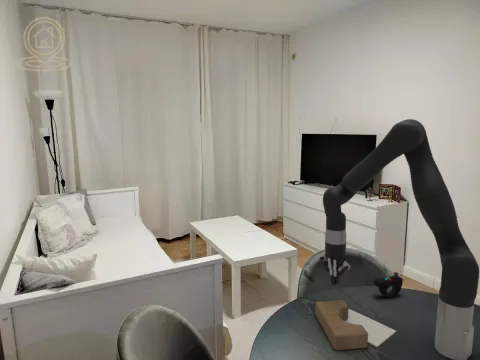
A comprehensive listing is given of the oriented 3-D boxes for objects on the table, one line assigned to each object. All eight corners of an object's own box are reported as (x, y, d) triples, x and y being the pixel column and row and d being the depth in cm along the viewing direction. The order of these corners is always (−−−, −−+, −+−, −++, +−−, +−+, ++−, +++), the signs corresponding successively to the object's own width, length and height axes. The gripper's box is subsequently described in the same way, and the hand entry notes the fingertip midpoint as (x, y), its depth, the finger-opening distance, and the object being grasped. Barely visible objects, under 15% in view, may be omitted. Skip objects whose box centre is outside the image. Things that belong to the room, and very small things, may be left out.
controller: (404, 297, 140) (405, 274, 138) (377, 301, 137) (378, 278, 136) (397, 292, 144) (398, 270, 142) (371, 296, 142) (372, 273, 140)
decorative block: (344, 299, 128) (369, 333, 108) (343, 313, 129) (367, 349, 109) (315, 300, 127) (335, 335, 107) (314, 314, 128) (334, 351, 108)
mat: (396, 331, 117) (396, 330, 117) (377, 347, 110) (377, 346, 110) (347, 308, 132) (347, 307, 132) (327, 321, 125) (327, 320, 125)
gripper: (357, 242, 122) (356, 287, 125) (327, 233, 132) (326, 275, 135) (345, 247, 117) (343, 294, 120) (314, 238, 128) (314, 281, 130)
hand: (334, 284), depth 128 cm, fingers closed
